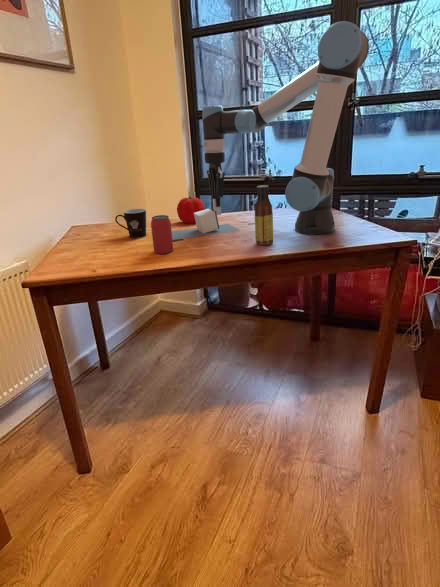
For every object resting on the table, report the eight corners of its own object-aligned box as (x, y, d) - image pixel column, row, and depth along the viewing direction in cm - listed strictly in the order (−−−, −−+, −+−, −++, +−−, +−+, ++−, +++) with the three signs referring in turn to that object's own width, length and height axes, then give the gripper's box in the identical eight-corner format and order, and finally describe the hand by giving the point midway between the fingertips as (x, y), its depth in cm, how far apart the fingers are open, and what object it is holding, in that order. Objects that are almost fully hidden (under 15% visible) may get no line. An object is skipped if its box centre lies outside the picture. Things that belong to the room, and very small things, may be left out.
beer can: (157, 255, 127) (153, 220, 122) (151, 250, 132) (147, 216, 127) (176, 252, 130) (173, 217, 125) (169, 247, 135) (166, 213, 130)
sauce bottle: (273, 241, 136) (274, 184, 129) (272, 246, 131) (273, 187, 123) (255, 241, 138) (255, 184, 130) (253, 246, 132) (253, 187, 124)
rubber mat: (240, 231, 151) (240, 230, 151) (172, 241, 142) (172, 240, 142) (227, 225, 162) (227, 223, 162) (163, 233, 153) (163, 232, 153)
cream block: (216, 211, 147) (199, 216, 145) (219, 228, 150) (203, 233, 149) (209, 208, 153) (193, 213, 151) (213, 224, 156) (197, 229, 155)
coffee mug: (153, 234, 154) (150, 209, 150) (140, 239, 147) (137, 213, 143) (129, 232, 158) (126, 207, 154) (116, 237, 151) (112, 212, 147)
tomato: (173, 226, 164) (171, 199, 160) (183, 219, 176) (181, 193, 172) (201, 226, 162) (199, 199, 157) (209, 219, 173) (207, 193, 169)
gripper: (199, 151, 147) (203, 212, 156) (211, 153, 136) (214, 218, 145) (217, 150, 149) (220, 210, 159) (230, 151, 138) (232, 216, 147)
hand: (217, 214), depth 152 cm, fingers closed
